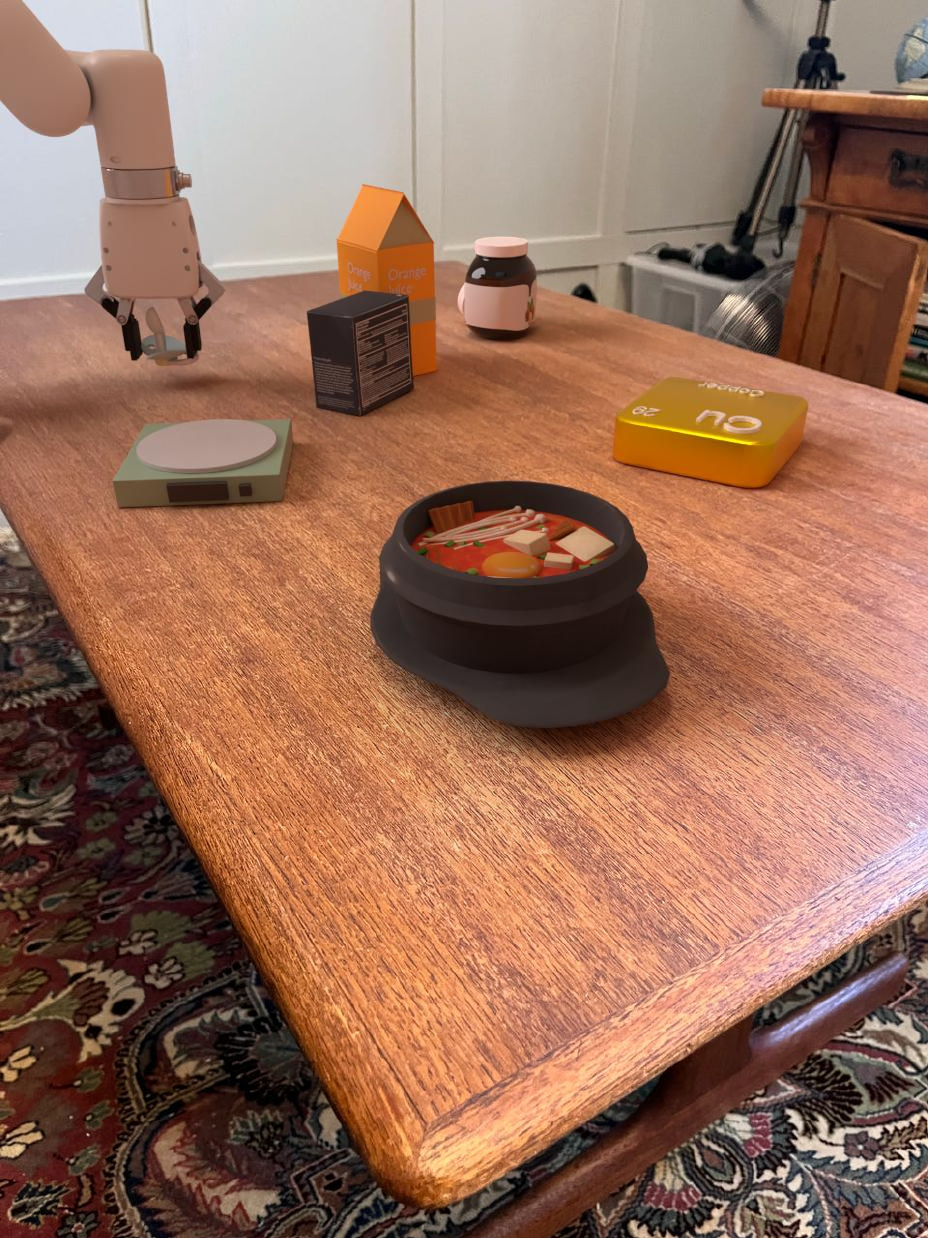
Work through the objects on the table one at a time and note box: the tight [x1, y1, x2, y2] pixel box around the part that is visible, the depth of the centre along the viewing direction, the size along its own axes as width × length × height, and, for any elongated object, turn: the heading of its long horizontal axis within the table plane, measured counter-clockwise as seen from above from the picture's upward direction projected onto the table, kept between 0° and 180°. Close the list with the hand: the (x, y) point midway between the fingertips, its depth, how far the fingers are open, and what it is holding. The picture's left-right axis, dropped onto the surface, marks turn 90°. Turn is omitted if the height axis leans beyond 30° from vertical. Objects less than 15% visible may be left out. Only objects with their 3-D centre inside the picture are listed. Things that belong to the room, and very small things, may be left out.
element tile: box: [612, 376, 809, 489], centre depth 93 cm, size 15×15×5 cm
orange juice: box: [335, 183, 438, 377], centre depth 113 cm, size 8×9×20 cm
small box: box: [306, 290, 415, 417], centre depth 106 cm, size 11×6×10 cm, turn 149°
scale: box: [112, 418, 294, 508], centre depth 89 cm, size 14×14×3 cm
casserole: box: [369, 480, 671, 729], centre depth 63 cm, size 25×19×8 cm
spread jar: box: [457, 235, 538, 341], centre depth 129 cm, size 12×11×12 cm
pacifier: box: [141, 306, 200, 367], centre depth 111 cm, size 7×6×6 cm
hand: (164, 355), depth 112 cm, fingers closed on pacifier, 5 cm apart
